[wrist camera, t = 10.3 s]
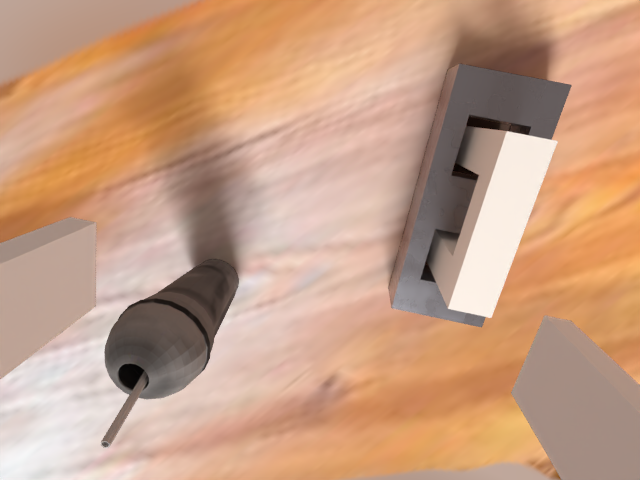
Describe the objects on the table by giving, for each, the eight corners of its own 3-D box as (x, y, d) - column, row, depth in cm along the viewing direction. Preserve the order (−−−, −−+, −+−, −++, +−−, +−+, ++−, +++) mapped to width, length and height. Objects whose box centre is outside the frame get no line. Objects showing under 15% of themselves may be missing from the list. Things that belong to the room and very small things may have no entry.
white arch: (456, 262, 36) (491, 318, 27) (424, 256, 37) (447, 308, 27) (498, 132, 33) (557, 141, 23) (462, 125, 33) (506, 131, 23)
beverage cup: (204, 231, 38) (49, 349, 19) (265, 274, 39) (175, 427, 20) (170, 285, 40) (1, 438, 21) (228, 324, 41) (116, 505, 22)
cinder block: (388, 288, 38) (391, 308, 34) (447, 69, 31) (459, 63, 28) (469, 305, 38) (481, 327, 34) (545, 88, 31) (571, 85, 27)
